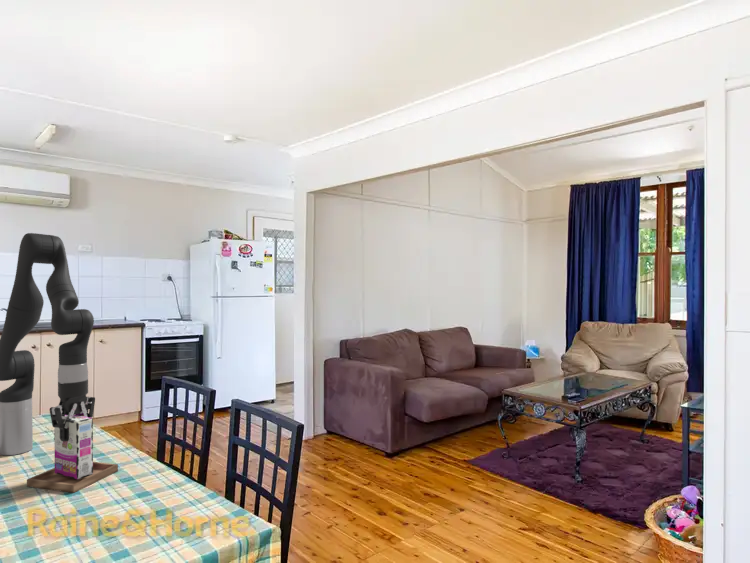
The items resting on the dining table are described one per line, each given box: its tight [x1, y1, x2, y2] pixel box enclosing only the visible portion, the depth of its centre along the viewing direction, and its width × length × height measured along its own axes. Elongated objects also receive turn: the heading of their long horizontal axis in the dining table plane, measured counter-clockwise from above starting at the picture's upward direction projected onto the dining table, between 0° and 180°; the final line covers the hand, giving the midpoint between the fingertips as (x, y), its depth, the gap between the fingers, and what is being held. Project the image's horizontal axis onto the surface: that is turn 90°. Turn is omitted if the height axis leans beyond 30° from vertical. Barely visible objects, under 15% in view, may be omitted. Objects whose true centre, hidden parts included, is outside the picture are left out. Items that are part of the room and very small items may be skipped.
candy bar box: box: [53, 415, 94, 480], centre depth 149 cm, size 11×5×16 cm, turn 62°
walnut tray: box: [26, 461, 119, 494], centre depth 149 cm, size 16×16×2 cm
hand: (73, 437), depth 149 cm, fingers closed on candy bar box, 5 cm apart
